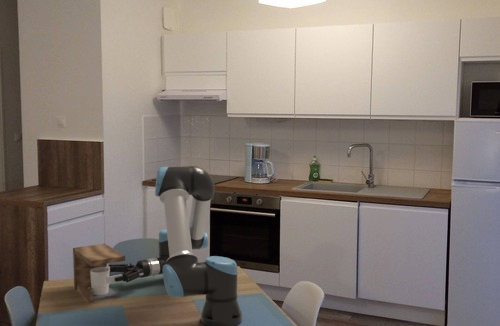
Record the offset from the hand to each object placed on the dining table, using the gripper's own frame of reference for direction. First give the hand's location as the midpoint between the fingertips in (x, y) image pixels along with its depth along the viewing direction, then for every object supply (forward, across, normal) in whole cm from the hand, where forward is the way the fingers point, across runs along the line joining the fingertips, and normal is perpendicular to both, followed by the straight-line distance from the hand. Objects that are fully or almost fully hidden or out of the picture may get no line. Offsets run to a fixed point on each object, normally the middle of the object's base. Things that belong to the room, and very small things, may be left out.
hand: (100, 276), depth 232 cm
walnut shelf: (+1, +1, -8) cm, 8 cm away
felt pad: (0, 0, -8) cm, 8 cm away
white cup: (0, 0, -7) cm, 7 cm away
